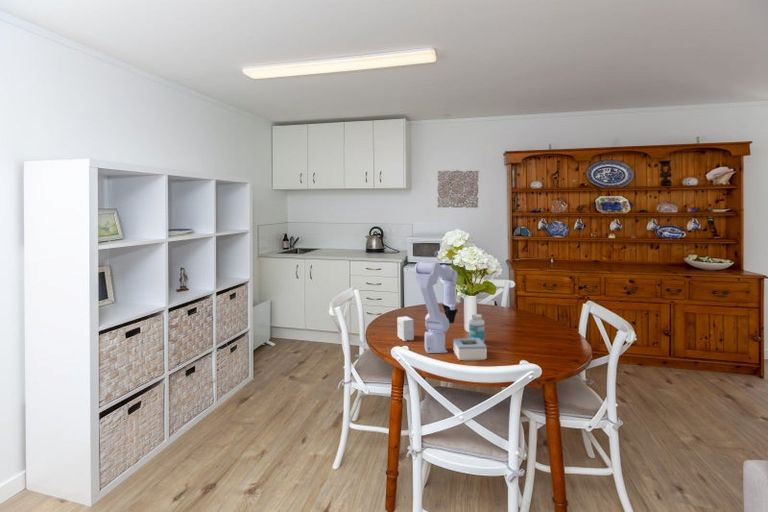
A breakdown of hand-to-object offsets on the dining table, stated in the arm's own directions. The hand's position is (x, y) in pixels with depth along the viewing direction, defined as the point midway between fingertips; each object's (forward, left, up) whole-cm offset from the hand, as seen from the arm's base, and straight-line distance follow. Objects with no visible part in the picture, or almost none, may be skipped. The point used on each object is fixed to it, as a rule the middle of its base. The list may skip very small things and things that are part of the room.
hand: (449, 320), depth 205 cm
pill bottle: (+13, -2, -11) cm, 17 cm away
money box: (+5, -20, -10) cm, 23 cm away
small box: (-21, +7, -11) cm, 25 cm away
